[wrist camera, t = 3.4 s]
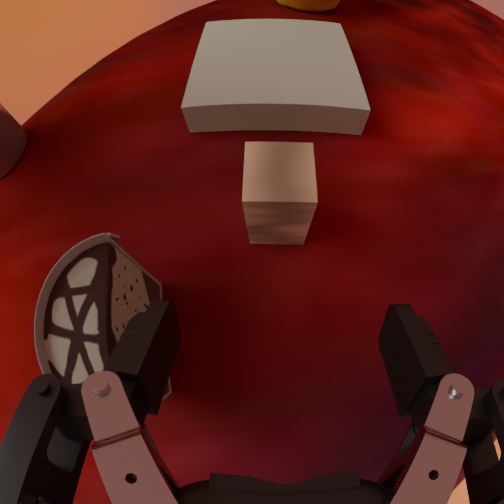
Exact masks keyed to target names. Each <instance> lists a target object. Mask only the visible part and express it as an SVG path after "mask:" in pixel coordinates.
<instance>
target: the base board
mask: <svg viewBox="0 0 504 504" xmlns="http://www.w3.org/2000/svg"><path fill="white" fill-rule="evenodd" d="M181 109H182V112H183V114H184V117H185V120H186V123H187V126H188V128H189V131H190V133H194V132H211V131H238V130H285V131H312V132H329V133H342V134H354V135H361V134H362V132H363V129H364V127H365V124H366V122H367V119H368V116H369V114H370V111H371V110H370V106H369V103H368V99H367V96H366V93H365V90H364V86H363V83H362V80H361V77H360V74H359V71H358V68H357V66H356V63H355V60H354V57H353V54H352V52H351V49H350V47H349V44H348V41H347V39H346V36H345V34H344V31H343V29H342V27H341V24H340V23H332V22H322V21H311V20H295V19H240V20H224V21H213V22H206V25H205V28H204V31H203V34H202V37H201V40H200V43H199V46H198V49H197V52H196V56H195V59H194V62H193V66H192V69H191V72H190V76H189V80H188V83H187V87H186V91H185V94H184V98H183V102H182V106H181Z"/></svg>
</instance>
